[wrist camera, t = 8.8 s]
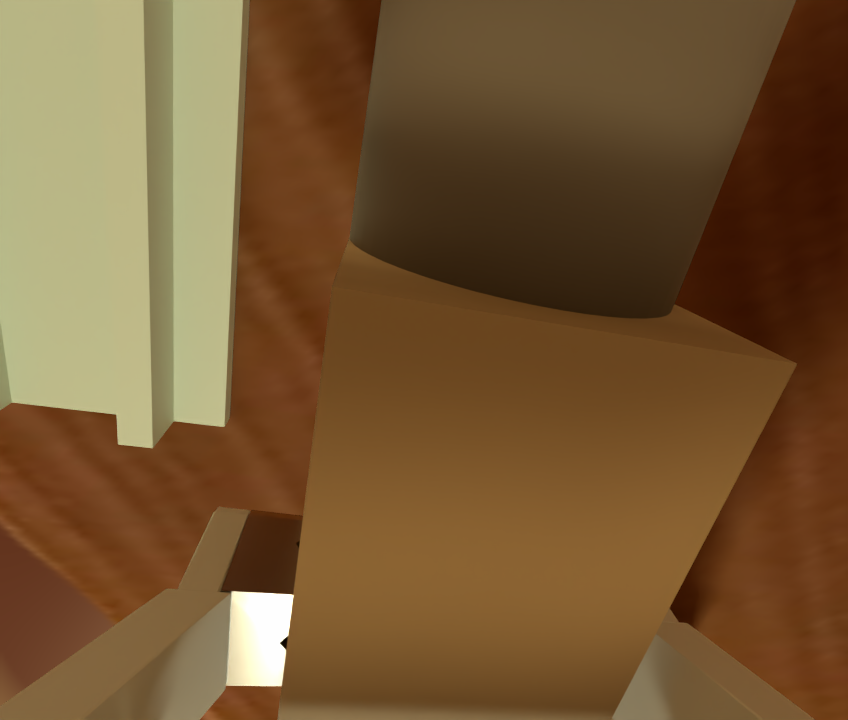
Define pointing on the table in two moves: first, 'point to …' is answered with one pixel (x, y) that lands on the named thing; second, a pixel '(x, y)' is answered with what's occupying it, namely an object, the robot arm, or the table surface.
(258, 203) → the table surface
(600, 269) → the grey-capped wooden block
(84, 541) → the table surface
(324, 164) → the table surface
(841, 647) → the table surface
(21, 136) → the grooved moulding strip
